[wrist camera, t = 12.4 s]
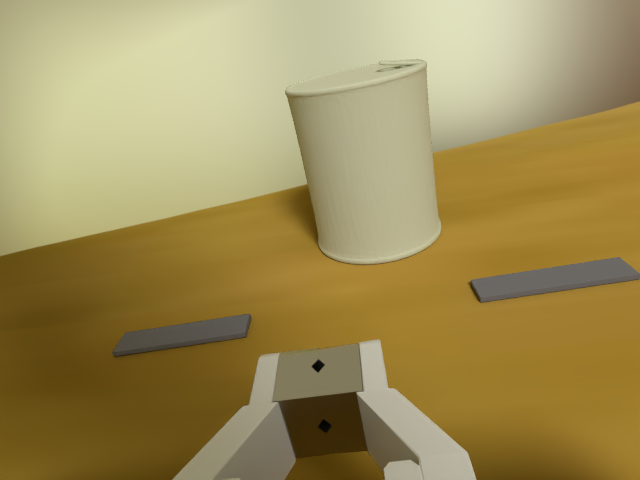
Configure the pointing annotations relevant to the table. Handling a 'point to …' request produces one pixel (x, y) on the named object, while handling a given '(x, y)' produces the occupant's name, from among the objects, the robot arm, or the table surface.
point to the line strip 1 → (183, 335)
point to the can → (368, 160)
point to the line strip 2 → (553, 279)
